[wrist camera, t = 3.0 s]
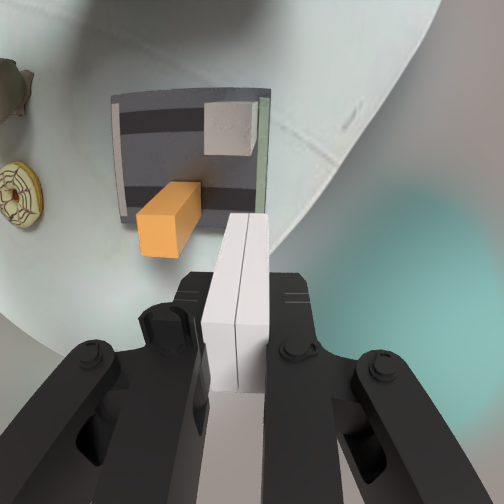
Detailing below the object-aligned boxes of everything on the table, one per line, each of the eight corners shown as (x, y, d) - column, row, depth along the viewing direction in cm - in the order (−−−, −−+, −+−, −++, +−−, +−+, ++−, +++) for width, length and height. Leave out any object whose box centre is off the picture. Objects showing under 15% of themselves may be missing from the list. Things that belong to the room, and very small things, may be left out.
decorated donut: (19, 227, 42) (6, 237, 38) (-2, 172, 37) (-17, 179, 34) (55, 212, 40) (41, 222, 37) (33, 149, 35) (17, 155, 32)
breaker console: (130, 214, 39) (82, 262, 28) (122, 95, 32) (59, 101, 20) (264, 219, 39) (260, 276, 27) (271, 89, 31) (270, 84, 20)
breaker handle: (172, 214, 35) (141, 255, 27) (170, 181, 34) (136, 214, 25) (201, 215, 35) (178, 258, 27) (200, 182, 33) (174, 215, 25)
